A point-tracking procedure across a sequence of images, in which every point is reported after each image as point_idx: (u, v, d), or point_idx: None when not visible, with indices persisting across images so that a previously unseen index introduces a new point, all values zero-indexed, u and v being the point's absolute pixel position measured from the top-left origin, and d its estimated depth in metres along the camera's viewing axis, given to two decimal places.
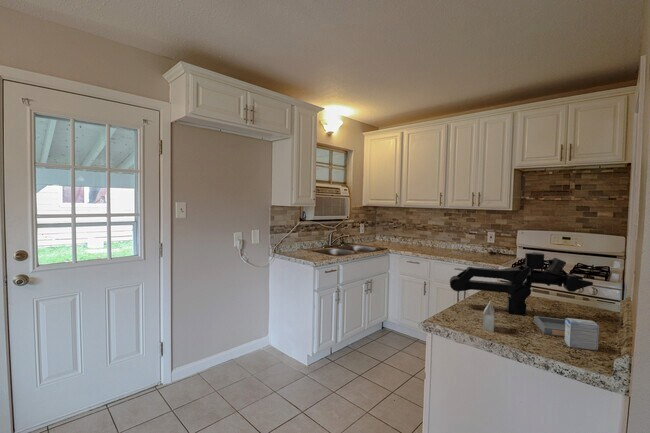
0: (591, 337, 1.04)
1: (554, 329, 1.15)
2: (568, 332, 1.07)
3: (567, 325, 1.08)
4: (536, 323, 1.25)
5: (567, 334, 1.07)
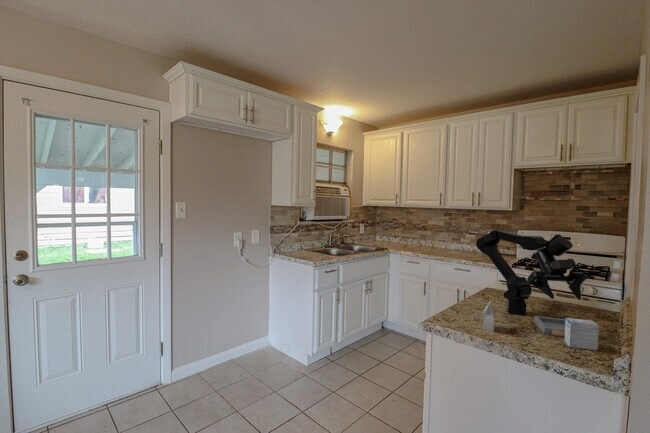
0: (591, 337, 1.04)
1: (554, 329, 1.15)
2: (568, 332, 1.07)
3: (567, 325, 1.08)
4: (536, 323, 1.25)
5: (567, 334, 1.07)
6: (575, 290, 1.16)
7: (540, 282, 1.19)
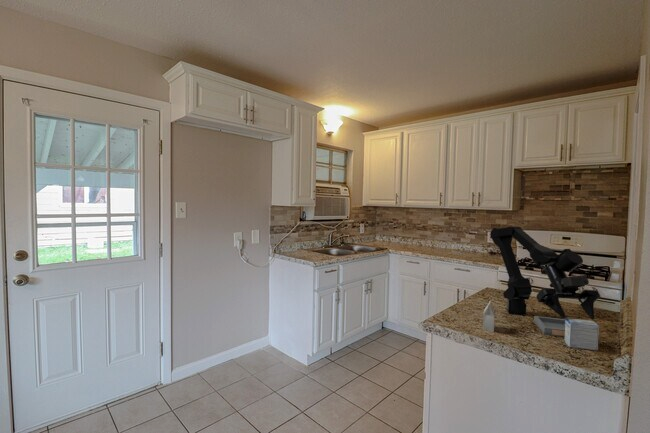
0: (591, 337, 1.04)
1: (554, 329, 1.15)
2: (568, 332, 1.07)
3: (567, 325, 1.08)
4: (536, 323, 1.25)
5: (567, 334, 1.07)
6: (588, 309, 1.10)
7: (550, 300, 1.12)
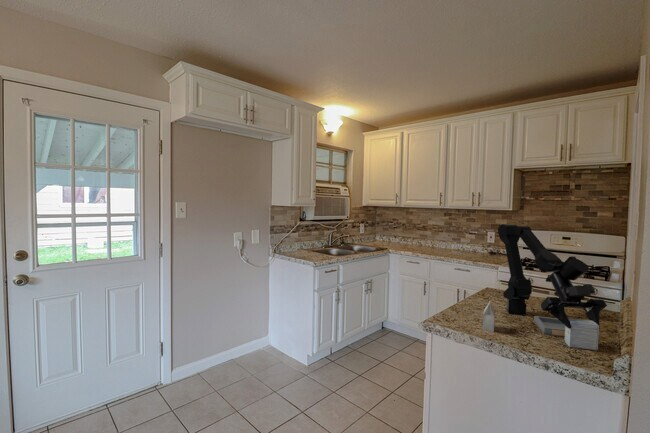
0: (591, 337, 1.04)
1: (554, 329, 1.15)
2: (568, 332, 1.06)
3: None
4: (536, 323, 1.25)
5: (567, 334, 1.07)
6: (593, 319, 1.07)
7: (556, 309, 1.09)
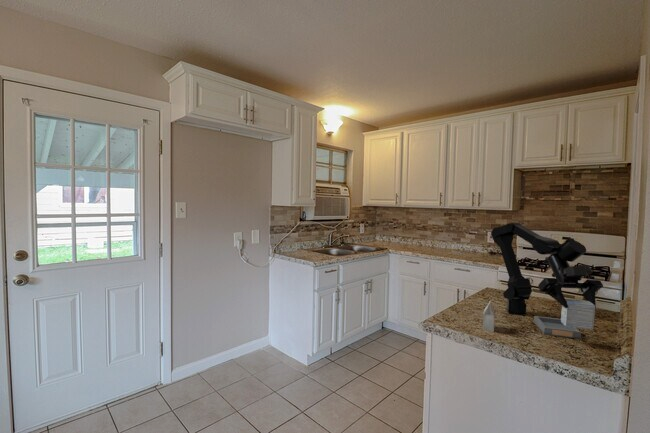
0: (587, 316, 1.05)
1: (554, 329, 1.15)
2: (565, 312, 1.08)
3: None
4: (536, 323, 1.25)
5: (563, 314, 1.09)
6: (589, 299, 1.09)
7: (553, 289, 1.11)
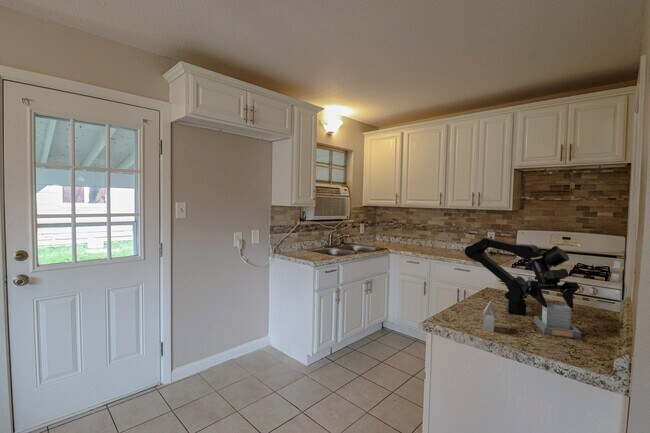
0: (564, 319, 1.17)
1: (554, 329, 1.15)
2: (545, 315, 1.20)
3: (544, 309, 1.21)
4: (536, 323, 1.25)
5: (544, 317, 1.21)
6: (568, 299, 1.20)
7: (534, 291, 1.23)
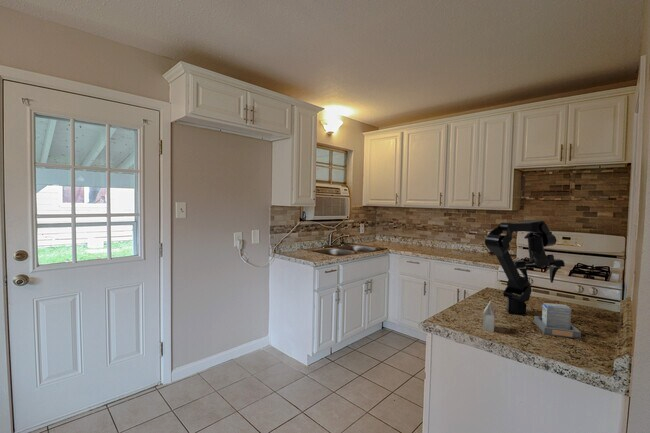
0: (564, 319, 1.17)
1: (554, 329, 1.15)
2: (545, 315, 1.20)
3: (544, 309, 1.21)
4: (536, 323, 1.25)
5: (544, 317, 1.21)
6: (551, 274, 1.40)
7: None
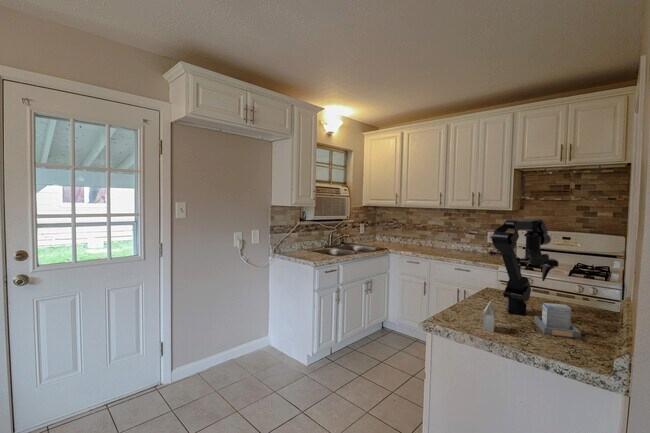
0: (564, 319, 1.17)
1: (554, 329, 1.15)
2: (545, 315, 1.20)
3: (544, 309, 1.21)
4: (536, 323, 1.25)
5: (544, 317, 1.21)
6: (543, 273, 1.43)
7: None
